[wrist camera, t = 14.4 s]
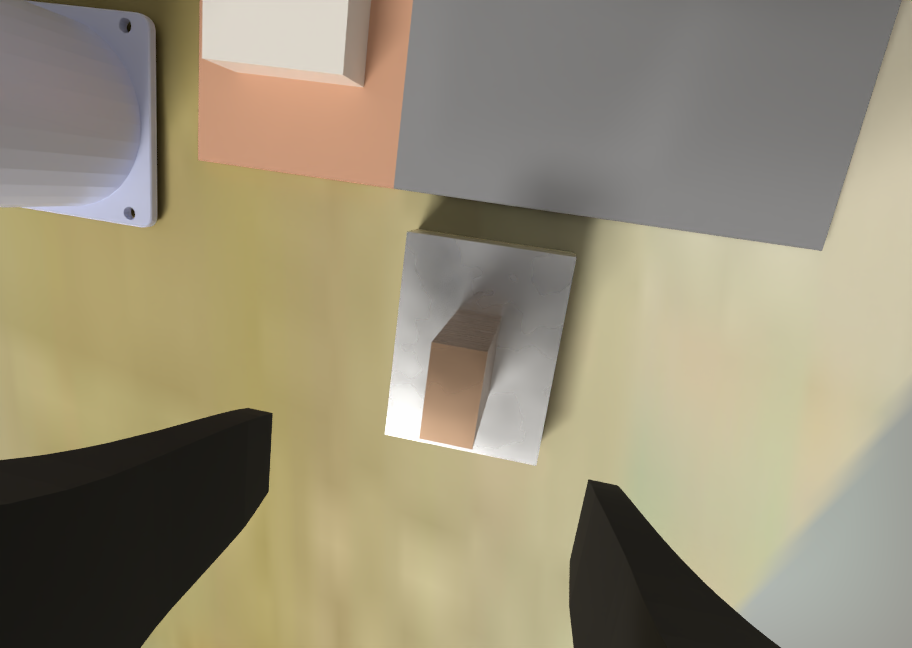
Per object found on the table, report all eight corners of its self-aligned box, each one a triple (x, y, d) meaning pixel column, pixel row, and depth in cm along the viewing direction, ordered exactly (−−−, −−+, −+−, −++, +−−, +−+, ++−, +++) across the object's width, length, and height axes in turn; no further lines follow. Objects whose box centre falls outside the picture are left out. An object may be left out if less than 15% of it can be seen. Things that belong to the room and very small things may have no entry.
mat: (206, 161, 21) (197, 160, 20) (210, -201, 18) (201, -212, 17) (814, 249, 18) (822, 250, 18) (944, -167, 15) (958, -178, 14)
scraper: (398, 414, 23) (341, 496, 16) (420, 228, 20) (364, 241, 14) (537, 442, 22) (532, 539, 16) (573, 251, 20) (585, 276, 13)
